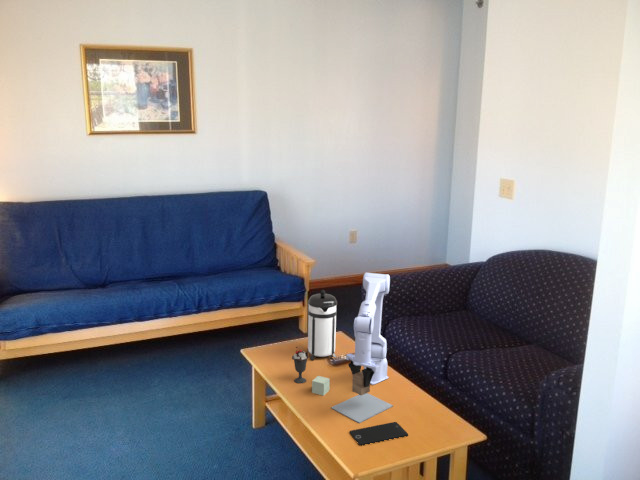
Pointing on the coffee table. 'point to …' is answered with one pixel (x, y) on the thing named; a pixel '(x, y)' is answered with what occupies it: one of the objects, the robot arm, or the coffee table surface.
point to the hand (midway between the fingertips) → (361, 383)
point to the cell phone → (378, 433)
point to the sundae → (300, 364)
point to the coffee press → (322, 325)
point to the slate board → (362, 407)
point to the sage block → (320, 385)
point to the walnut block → (359, 384)
